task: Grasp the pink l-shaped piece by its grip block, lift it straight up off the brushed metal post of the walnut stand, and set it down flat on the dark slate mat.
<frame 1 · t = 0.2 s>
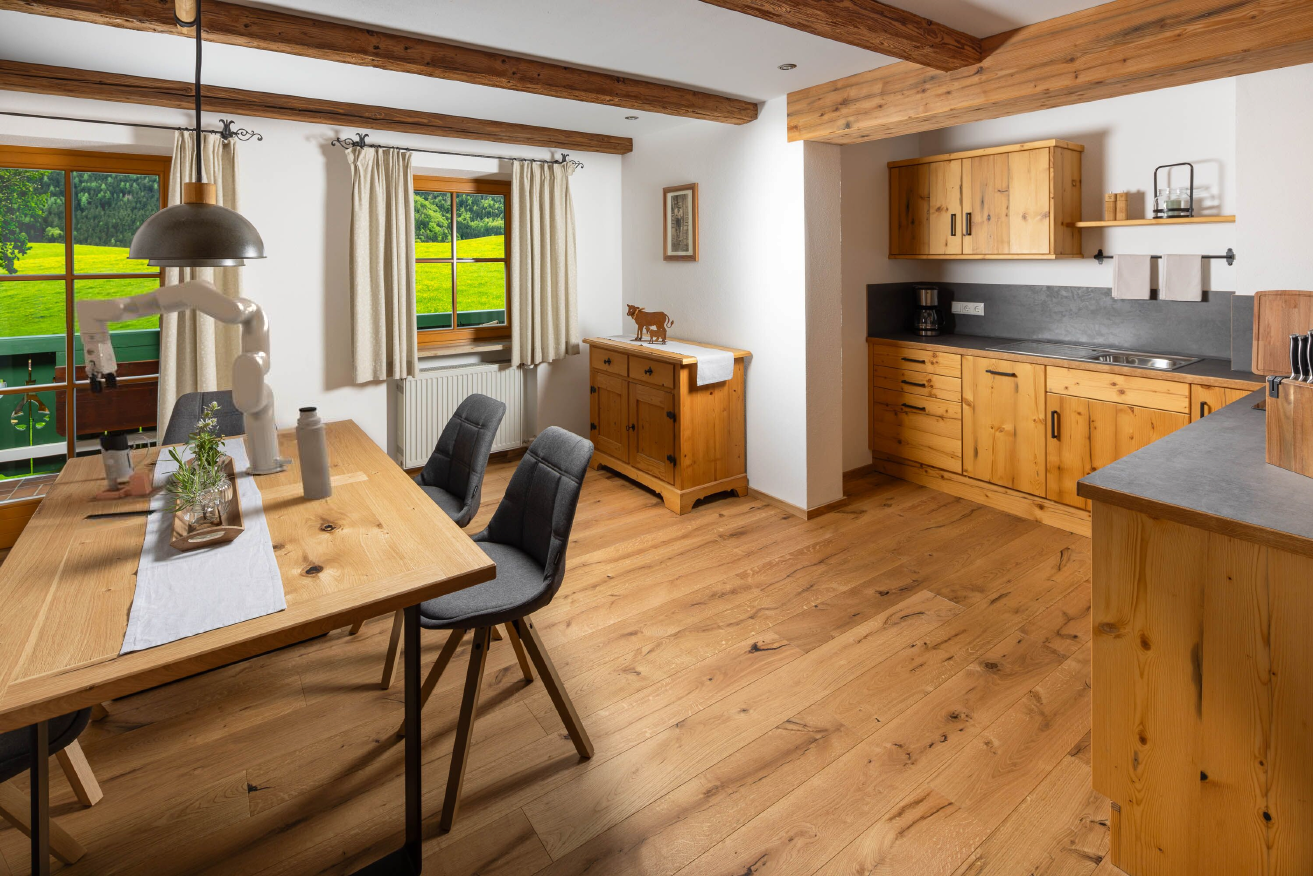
hand: (105, 390, 242), 31 cm above the table, tool pointing down, fingers open, 9 cm apart
grey mug: (130, 477, 254), on the table
pink l-shaped piece: (114, 494, 228), point 1 cm above the table, touching stand
slate mat: (126, 511, 217), on the table
thermos bottle: (318, 496, 230), on the table
stand: (130, 498, 229), on the table
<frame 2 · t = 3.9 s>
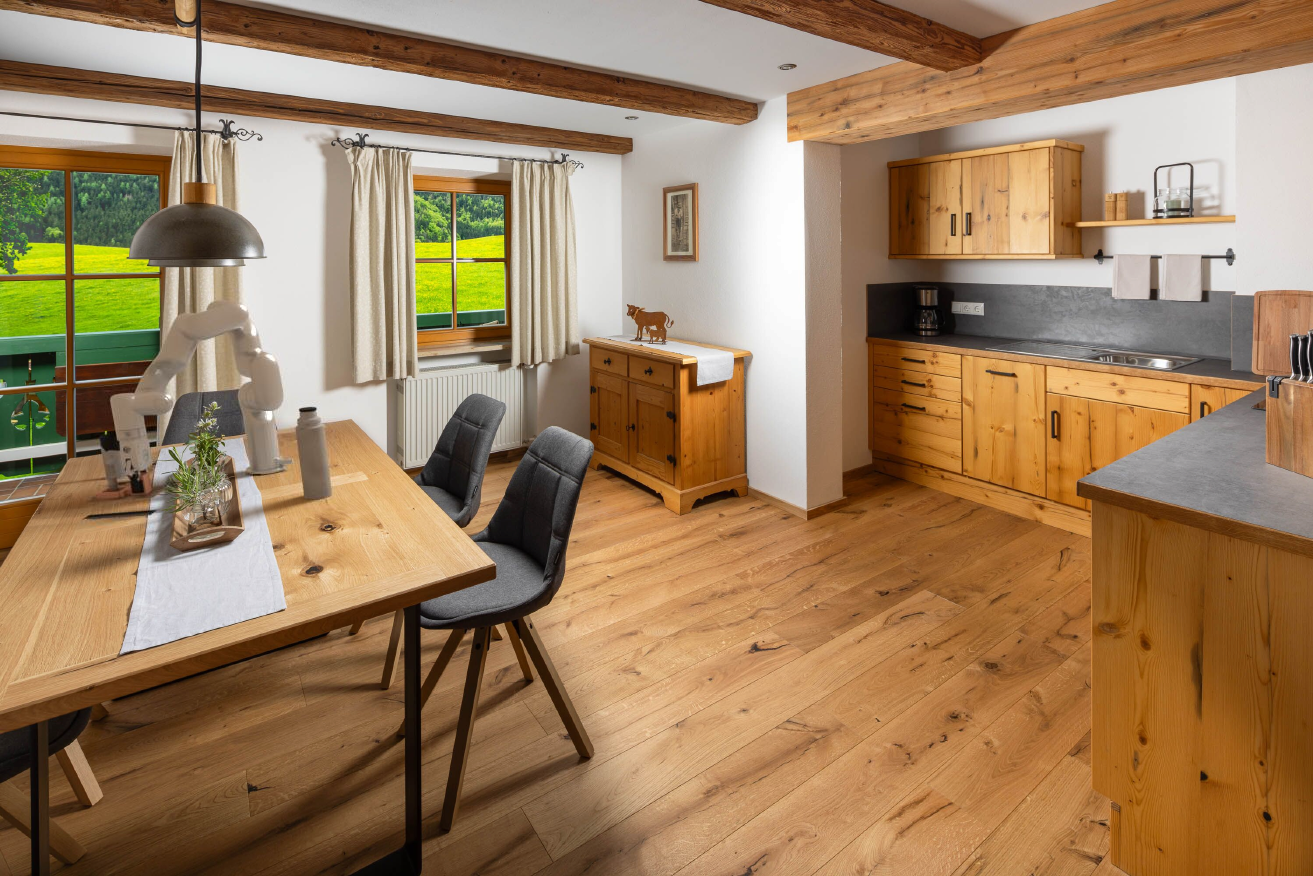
hand: (141, 490, 230), 2 cm above the table, tool pointing down, fingers closed on pink l-shaped piece, 4 cm apart
pink l-shaped piece: (114, 494, 228), point 2 cm above the table, touching gripper, stand
everything else where it was.
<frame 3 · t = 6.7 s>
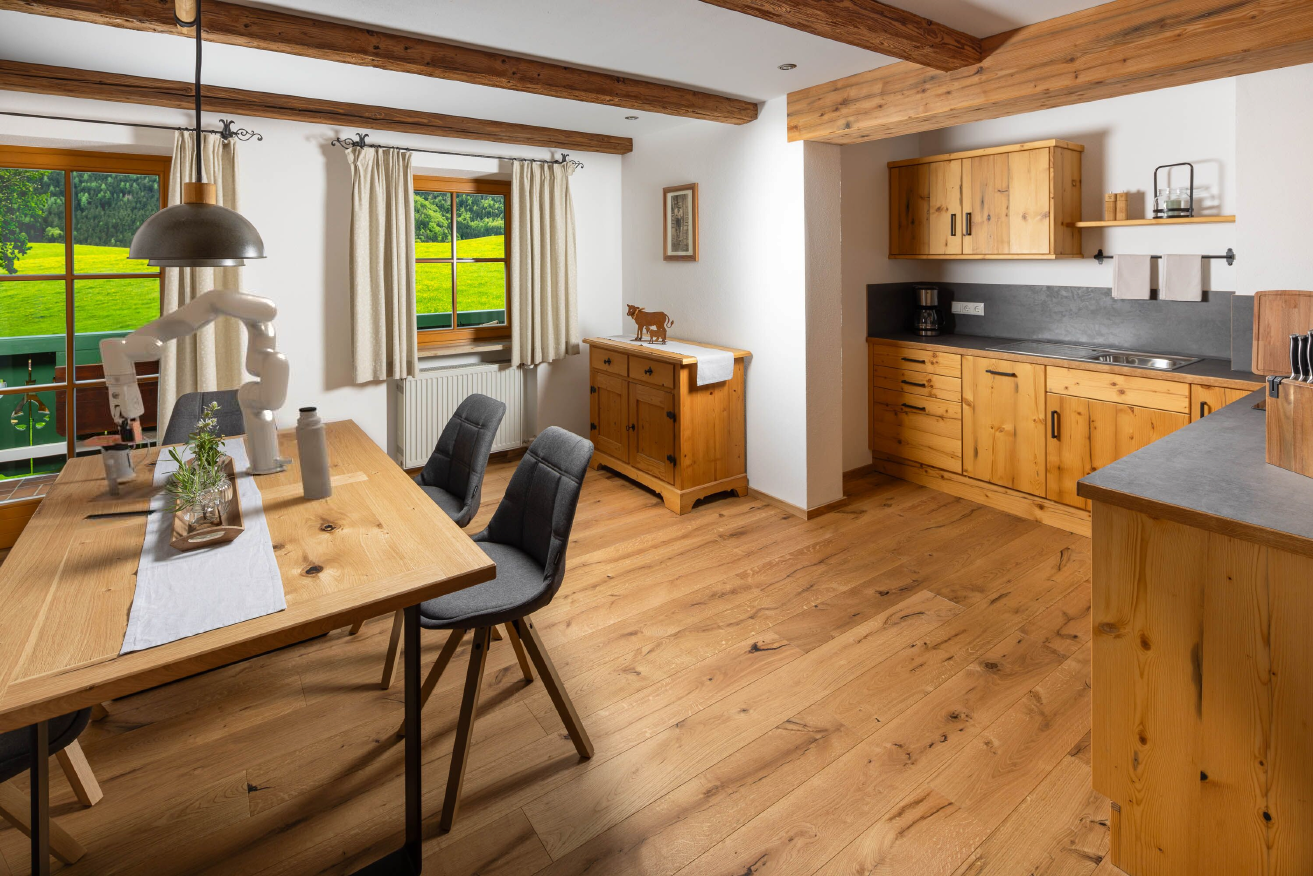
hand: (131, 439, 222), 19 cm above the table, tool pointing down, fingers closed on pink l-shaped piece, 4 cm apart
pink l-shaped piece: (104, 443, 221), point 19 cm above the table, touching gripper
everything else where it was.
when the fingers open (3 cm above the table, at t = 9.6 s): pink l-shaped piece drops 1 cm, resting on slate mat.
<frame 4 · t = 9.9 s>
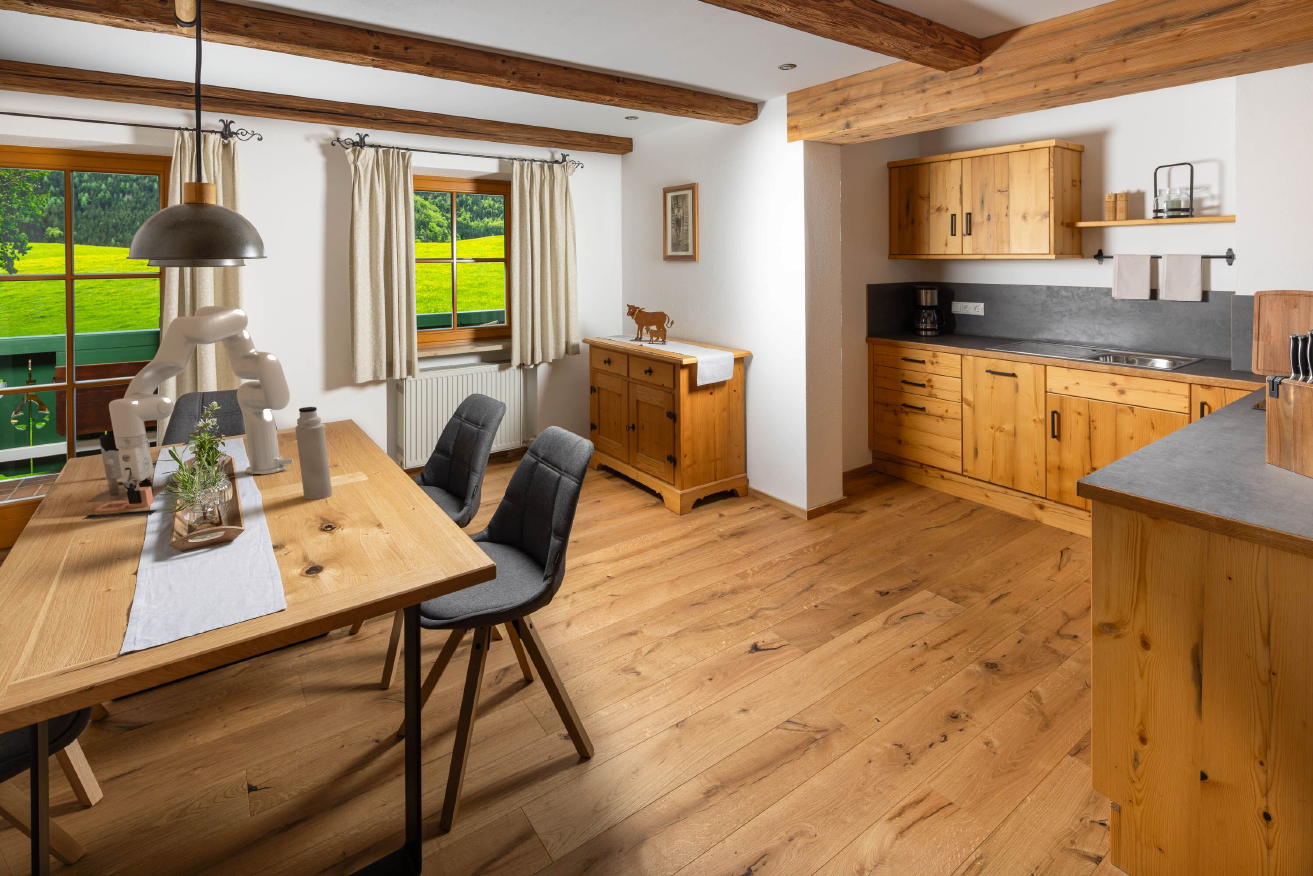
hand: (141, 498, 217), 3 cm above the table, tool pointing down, fingers open, 7 cm apart
pink l-shaped piece: (115, 510, 217), resting on slate mat
everything else where it was.
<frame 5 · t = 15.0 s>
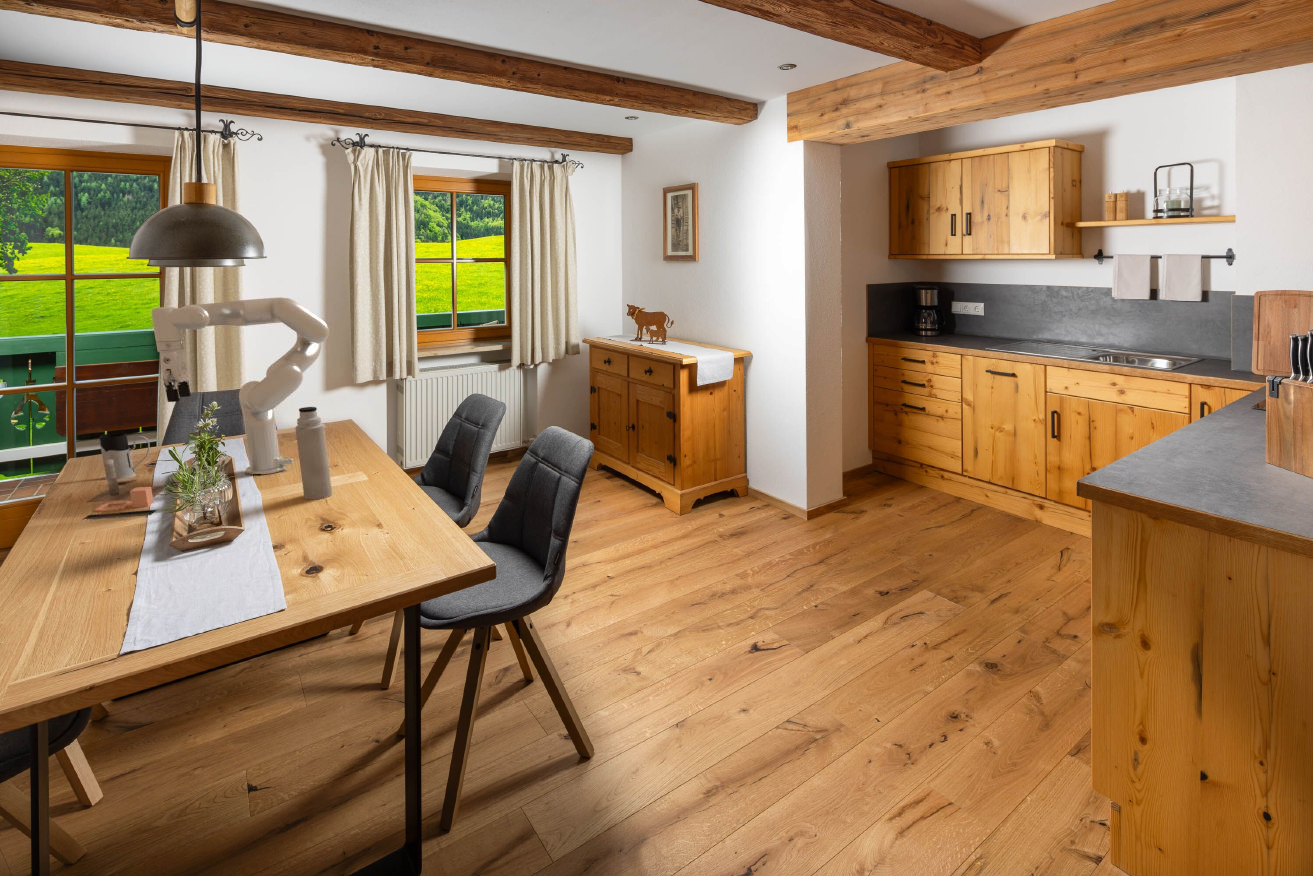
hand: (179, 399, 239), 28 cm above the table, tool pointing down, fingers open, 9 cm apart
nothing on the table moved.
at the end: pink l-shaped piece inside the target area on the slate mat (1.9 cm from its centre), point 0.4 cm above the slate mat's base; pink l-shaped piece tilted 0°; the gripper is holding nothing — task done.
